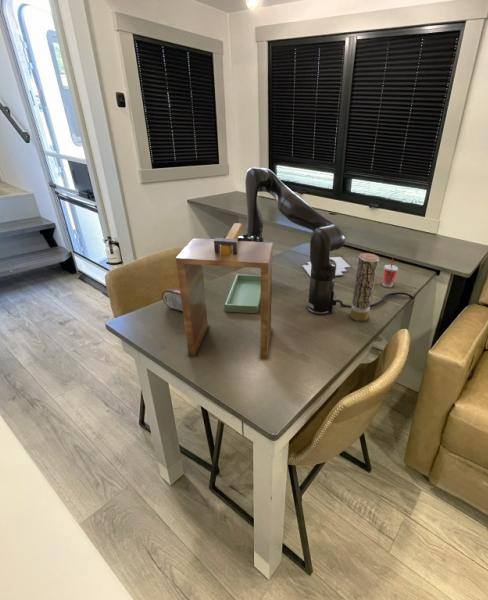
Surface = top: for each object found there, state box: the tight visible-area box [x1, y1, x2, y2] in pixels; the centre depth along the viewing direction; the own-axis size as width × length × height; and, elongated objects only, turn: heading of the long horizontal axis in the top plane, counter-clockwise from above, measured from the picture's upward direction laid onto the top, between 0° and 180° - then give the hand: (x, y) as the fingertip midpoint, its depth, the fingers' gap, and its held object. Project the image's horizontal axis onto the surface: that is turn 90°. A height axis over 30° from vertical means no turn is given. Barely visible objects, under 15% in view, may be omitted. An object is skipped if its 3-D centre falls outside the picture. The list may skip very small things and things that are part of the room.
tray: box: [224, 273, 261, 314], centre depth 136 cm, size 27×12×3 cm, turn 1°
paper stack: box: [302, 256, 351, 277], centre depth 167 cm, size 23×25×1 cm
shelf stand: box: [175, 237, 274, 360], centre depth 100 cm, size 24×16×36 cm, turn 91°
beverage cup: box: [382, 256, 399, 288], centre depth 150 cm, size 6×6×14 cm
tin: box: [161, 286, 183, 313], centre depth 121 cm, size 15×3×8 cm, turn 71°
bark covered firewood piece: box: [349, 252, 380, 322], centre depth 121 cm, size 7×7×25 cm
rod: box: [220, 222, 243, 255], centre depth 98 cm, size 2×22×2 cm, turn 1°
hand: (241, 237), depth 116 cm, fingers open, 8 cm apart
